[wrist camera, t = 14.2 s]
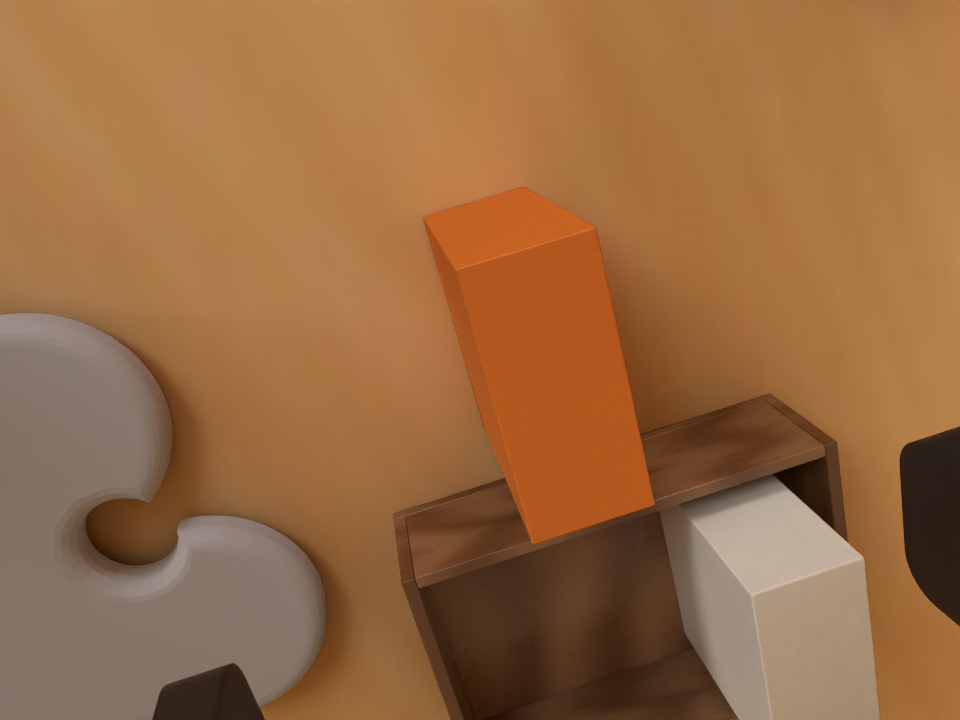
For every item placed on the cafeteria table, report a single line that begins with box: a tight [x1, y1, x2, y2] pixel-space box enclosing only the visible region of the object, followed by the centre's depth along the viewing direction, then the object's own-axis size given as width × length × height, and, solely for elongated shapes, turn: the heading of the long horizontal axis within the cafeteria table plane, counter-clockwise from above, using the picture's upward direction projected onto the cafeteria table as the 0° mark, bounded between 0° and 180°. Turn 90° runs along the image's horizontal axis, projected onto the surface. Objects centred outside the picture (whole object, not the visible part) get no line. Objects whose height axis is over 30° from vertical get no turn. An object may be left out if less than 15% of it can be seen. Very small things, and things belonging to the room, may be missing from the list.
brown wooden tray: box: [393, 394, 848, 720], centre depth 34 cm, size 17×12×5 cm
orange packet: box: [423, 187, 655, 544], centre depth 27 cm, size 4×9×9 cm, turn 15°
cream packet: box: [660, 474, 880, 720], centre depth 32 cm, size 4×9×9 cm, turn 15°
